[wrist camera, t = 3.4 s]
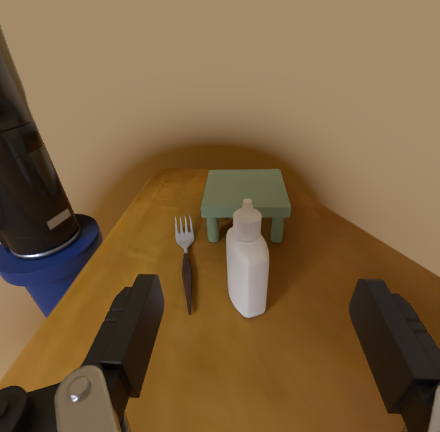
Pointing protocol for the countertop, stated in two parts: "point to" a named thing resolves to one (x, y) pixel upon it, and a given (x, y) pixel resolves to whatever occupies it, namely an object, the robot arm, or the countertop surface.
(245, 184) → the stool
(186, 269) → the fork
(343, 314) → the countertop surface
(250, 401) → the countertop surface
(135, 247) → the countertop surface
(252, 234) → the eye dropper bottle
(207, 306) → the countertop surface
